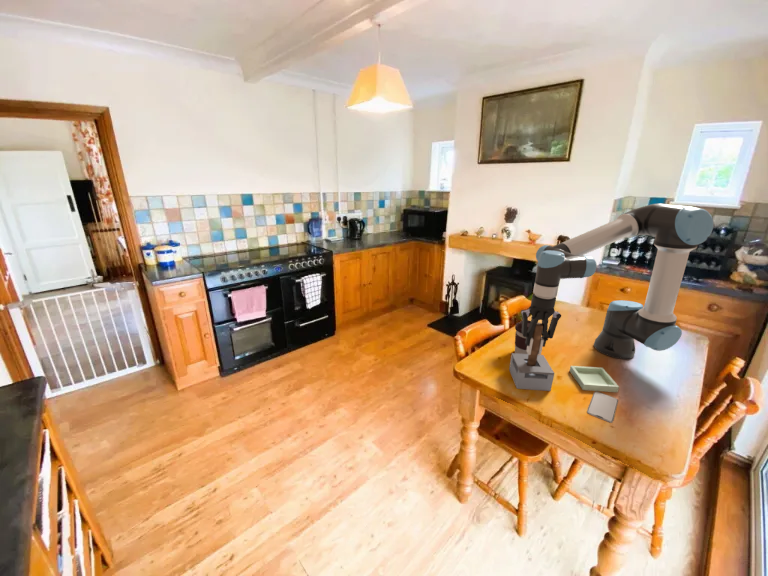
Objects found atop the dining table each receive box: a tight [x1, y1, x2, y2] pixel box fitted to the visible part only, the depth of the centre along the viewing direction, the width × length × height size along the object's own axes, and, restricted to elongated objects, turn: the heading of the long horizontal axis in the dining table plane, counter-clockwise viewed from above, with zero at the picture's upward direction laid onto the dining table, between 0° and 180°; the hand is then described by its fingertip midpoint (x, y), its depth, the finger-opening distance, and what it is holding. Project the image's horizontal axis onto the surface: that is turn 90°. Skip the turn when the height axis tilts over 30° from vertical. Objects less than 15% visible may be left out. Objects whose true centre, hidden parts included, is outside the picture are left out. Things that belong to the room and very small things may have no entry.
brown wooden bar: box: [527, 322, 543, 366], centre depth 120 cm, size 3×3×20 cm
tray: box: [569, 365, 620, 393], centre depth 124 cm, size 12×12×2 cm
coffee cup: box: [514, 319, 531, 354], centre depth 140 cm, size 10×10×15 cm
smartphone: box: [586, 391, 619, 424], centre depth 111 cm, size 7×1×15 cm
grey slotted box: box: [508, 352, 555, 392], centre depth 124 cm, size 12×12×8 cm
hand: (533, 353), depth 121 cm, fingers closed on brown wooden bar, 3 cm apart
